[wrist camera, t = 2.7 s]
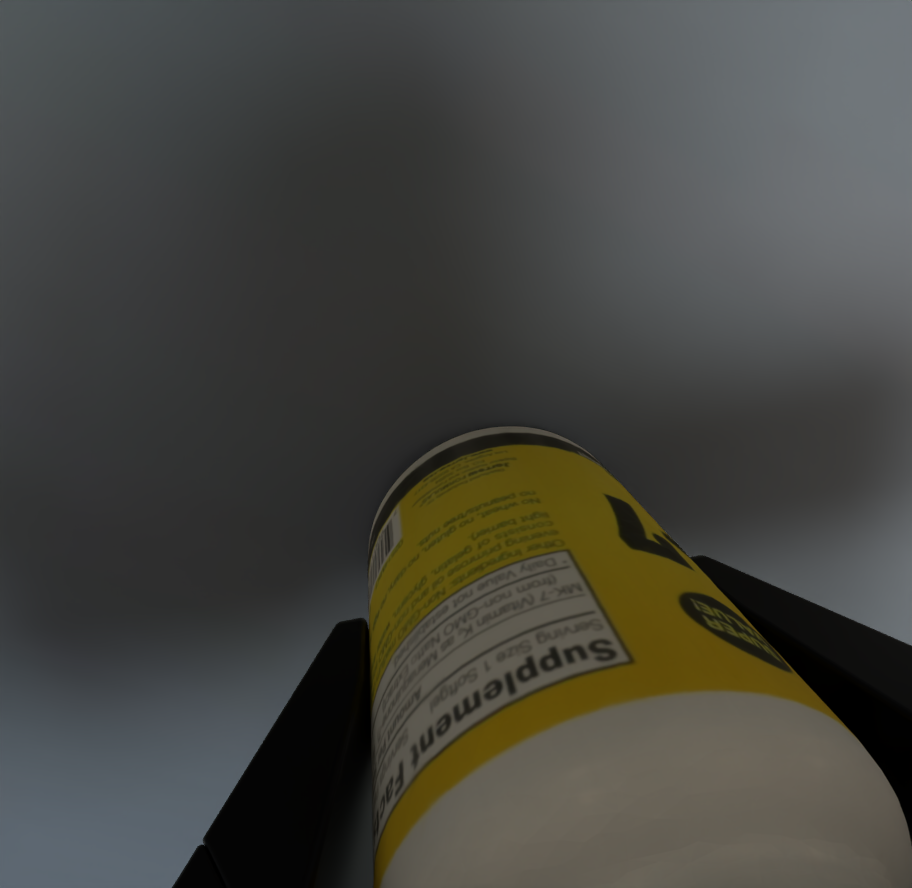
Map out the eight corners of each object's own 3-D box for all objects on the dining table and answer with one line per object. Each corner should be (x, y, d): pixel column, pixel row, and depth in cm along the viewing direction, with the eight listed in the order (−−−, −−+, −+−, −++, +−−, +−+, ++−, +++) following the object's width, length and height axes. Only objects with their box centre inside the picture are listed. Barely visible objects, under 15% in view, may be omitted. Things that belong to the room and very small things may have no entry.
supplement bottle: (655, 559, 11) (1287, 1331, 4) (454, 676, 12) (636, 1596, 4) (549, 363, 9) (1472, 1162, 2) (311, 511, 10) (122, 1731, 2)
